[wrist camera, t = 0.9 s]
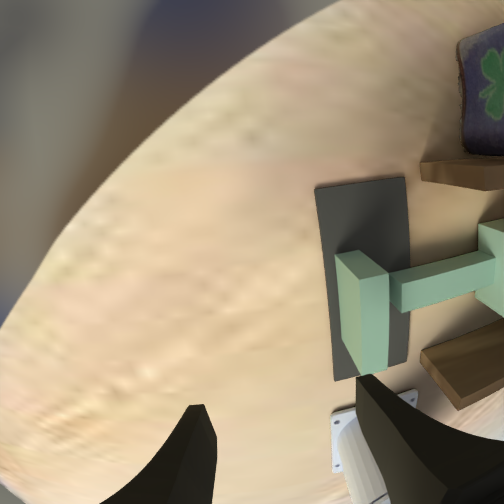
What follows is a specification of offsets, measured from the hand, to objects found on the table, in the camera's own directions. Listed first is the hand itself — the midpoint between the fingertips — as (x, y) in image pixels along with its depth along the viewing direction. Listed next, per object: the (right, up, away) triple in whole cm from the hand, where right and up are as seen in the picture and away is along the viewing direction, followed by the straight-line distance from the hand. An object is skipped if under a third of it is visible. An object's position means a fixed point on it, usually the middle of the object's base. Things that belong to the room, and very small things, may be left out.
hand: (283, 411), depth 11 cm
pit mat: (+7, +4, +9) cm, 12 cm away
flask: (+15, +18, +6) cm, 24 cm away
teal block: (+14, +5, +8) cm, 17 cm away
